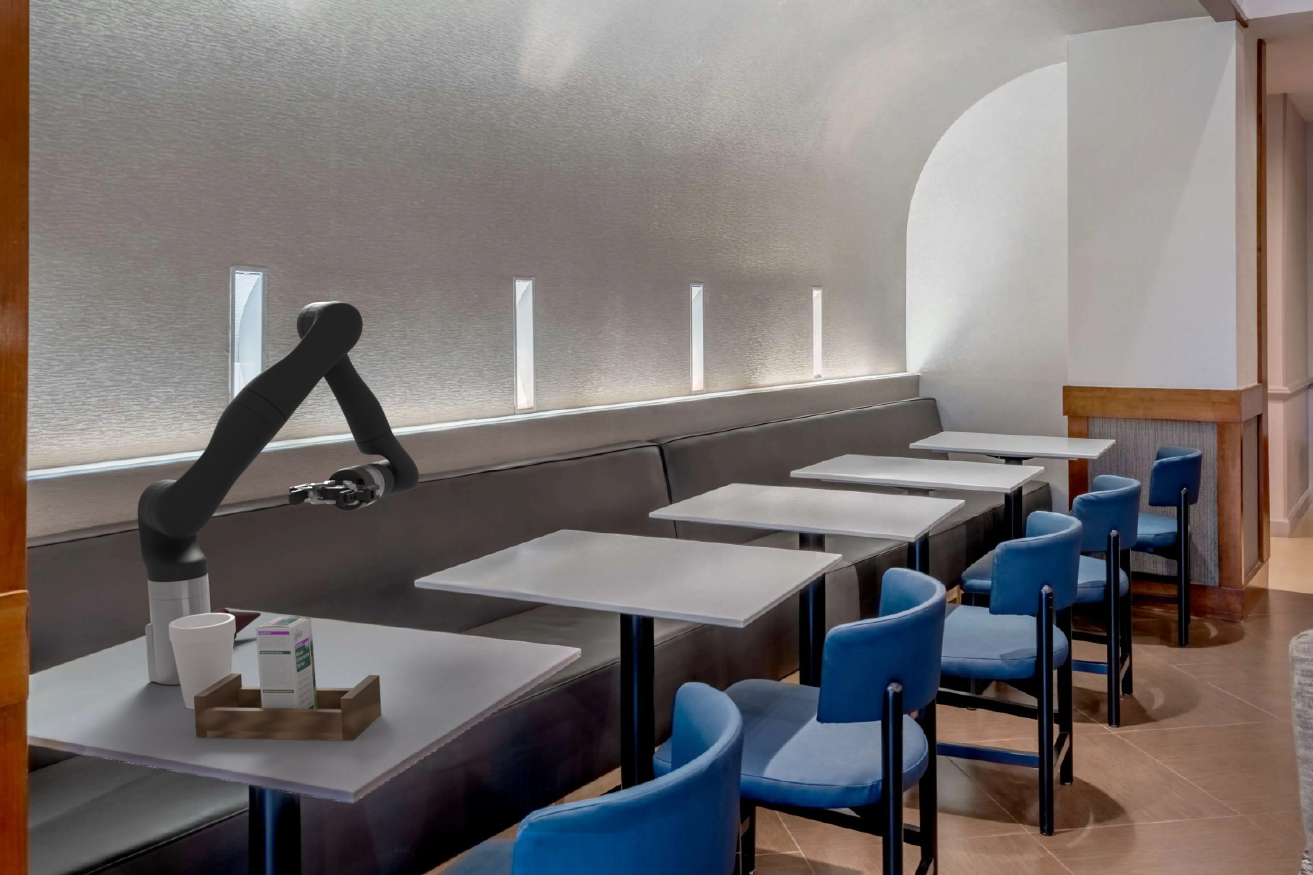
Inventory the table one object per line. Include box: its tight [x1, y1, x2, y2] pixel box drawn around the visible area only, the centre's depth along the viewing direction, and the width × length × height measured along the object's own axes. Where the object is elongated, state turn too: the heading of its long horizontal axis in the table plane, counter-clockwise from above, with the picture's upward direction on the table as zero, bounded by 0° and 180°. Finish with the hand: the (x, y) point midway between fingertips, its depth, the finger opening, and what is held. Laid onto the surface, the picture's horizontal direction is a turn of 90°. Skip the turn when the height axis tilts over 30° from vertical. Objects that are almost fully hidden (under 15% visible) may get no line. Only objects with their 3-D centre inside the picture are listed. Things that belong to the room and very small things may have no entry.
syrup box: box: [255, 615, 318, 709], centre depth 154 cm, size 6×6×14 cm
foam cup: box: [169, 613, 236, 710], centre depth 165 cm, size 10×9×13 cm
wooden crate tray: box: [194, 672, 382, 742], centre depth 154 cm, size 23×10×6 cm, turn 83°
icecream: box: [210, 606, 262, 640], centre depth 200 cm, size 7×7×15 cm
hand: (316, 499), depth 175 cm, fingers open, 8 cm apart
